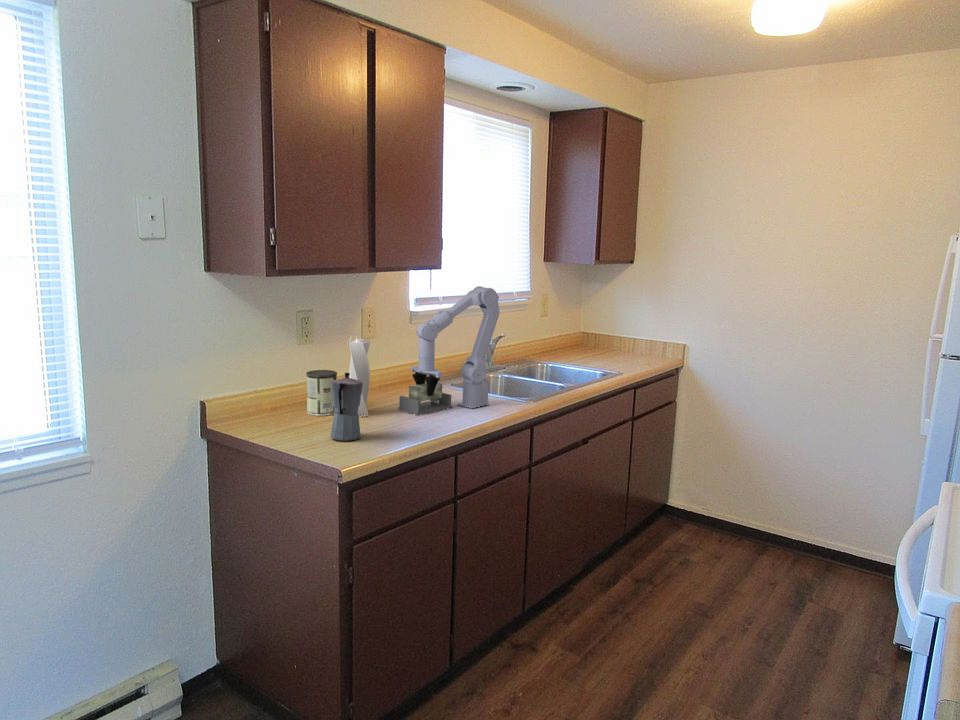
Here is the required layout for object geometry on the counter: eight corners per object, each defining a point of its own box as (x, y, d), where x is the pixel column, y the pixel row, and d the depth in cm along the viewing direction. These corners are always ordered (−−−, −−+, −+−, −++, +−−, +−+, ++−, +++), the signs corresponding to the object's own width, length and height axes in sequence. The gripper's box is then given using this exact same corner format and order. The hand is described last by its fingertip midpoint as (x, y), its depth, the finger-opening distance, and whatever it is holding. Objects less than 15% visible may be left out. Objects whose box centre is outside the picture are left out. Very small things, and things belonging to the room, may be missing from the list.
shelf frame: (433, 403, 250) (433, 390, 249) (452, 408, 243) (452, 394, 242) (398, 410, 237) (398, 396, 236) (416, 415, 231) (417, 401, 230)
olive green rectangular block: (433, 395, 245) (433, 382, 244) (441, 397, 242) (442, 384, 241) (408, 399, 237) (408, 386, 236) (417, 402, 234) (417, 388, 233)
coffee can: (321, 407, 237) (321, 368, 235) (343, 411, 232) (343, 372, 230) (300, 413, 229) (299, 372, 226) (322, 417, 224) (322, 376, 221)
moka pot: (365, 431, 209) (365, 369, 205) (358, 446, 194) (358, 379, 190) (334, 431, 208) (334, 368, 205) (325, 445, 193) (324, 378, 190)
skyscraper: (343, 413, 231) (343, 333, 227) (365, 411, 235) (366, 332, 230) (350, 419, 224) (350, 336, 219) (373, 417, 228) (374, 336, 223)
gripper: (404, 355, 239) (404, 392, 241) (432, 361, 229) (431, 399, 231) (419, 353, 244) (418, 389, 246) (446, 359, 234) (445, 396, 237)
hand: (425, 394), depth 239 cm, fingers closed on olive green rectangular block, 4 cm apart
